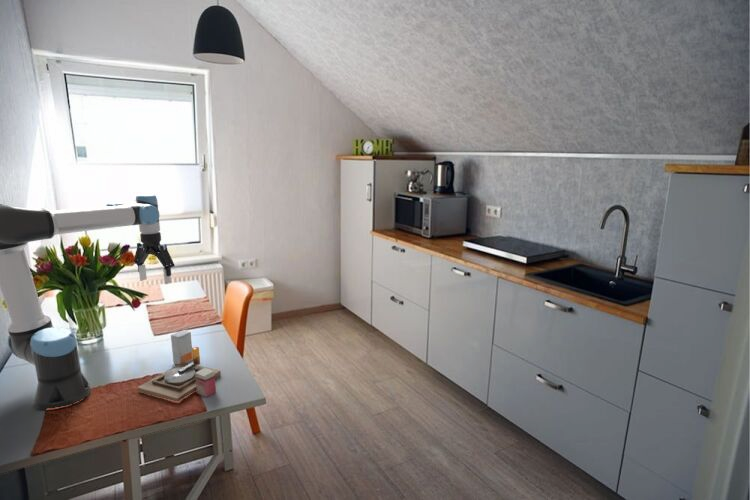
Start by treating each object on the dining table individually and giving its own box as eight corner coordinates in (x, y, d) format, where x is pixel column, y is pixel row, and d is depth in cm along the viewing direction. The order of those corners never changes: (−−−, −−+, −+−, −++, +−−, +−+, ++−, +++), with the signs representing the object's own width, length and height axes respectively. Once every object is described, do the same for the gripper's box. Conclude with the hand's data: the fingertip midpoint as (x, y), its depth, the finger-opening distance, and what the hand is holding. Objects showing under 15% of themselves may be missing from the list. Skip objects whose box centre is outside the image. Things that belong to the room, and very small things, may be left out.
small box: (196, 393, 149) (194, 372, 147) (206, 387, 152) (205, 367, 151) (206, 397, 146) (204, 376, 144) (216, 391, 150) (214, 370, 148)
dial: (179, 387, 148) (177, 366, 146) (158, 382, 152) (155, 361, 150) (210, 369, 161) (208, 349, 159) (189, 364, 165) (187, 344, 163)
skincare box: (180, 366, 167) (177, 337, 165) (173, 363, 170) (170, 334, 167) (193, 359, 172) (191, 331, 170) (187, 357, 175) (184, 329, 172)
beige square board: (177, 404, 143) (176, 395, 142) (138, 392, 149) (137, 384, 149) (220, 375, 161) (220, 368, 160) (183, 366, 167) (182, 359, 167)
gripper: (180, 232, 179) (185, 282, 183) (135, 228, 187) (140, 276, 192) (166, 236, 172) (171, 287, 176) (120, 231, 180) (126, 280, 185)
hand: (155, 281), depth 184 cm, fingers open, 13 cm apart
